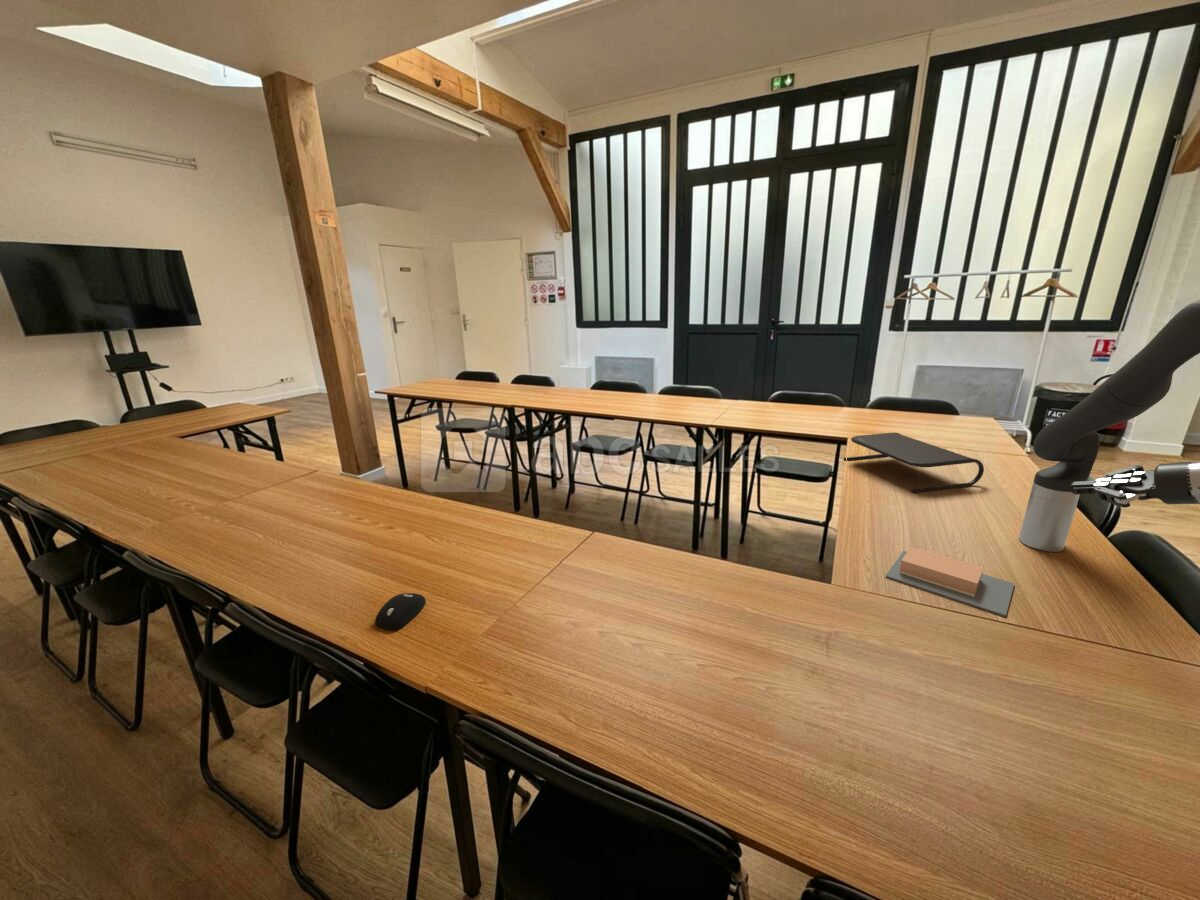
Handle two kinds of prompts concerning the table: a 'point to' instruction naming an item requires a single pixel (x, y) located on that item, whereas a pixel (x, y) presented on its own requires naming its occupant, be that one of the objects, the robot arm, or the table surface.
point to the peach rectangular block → (942, 570)
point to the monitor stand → (914, 455)
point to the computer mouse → (399, 611)
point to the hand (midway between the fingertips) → (1072, 488)
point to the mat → (987, 597)
